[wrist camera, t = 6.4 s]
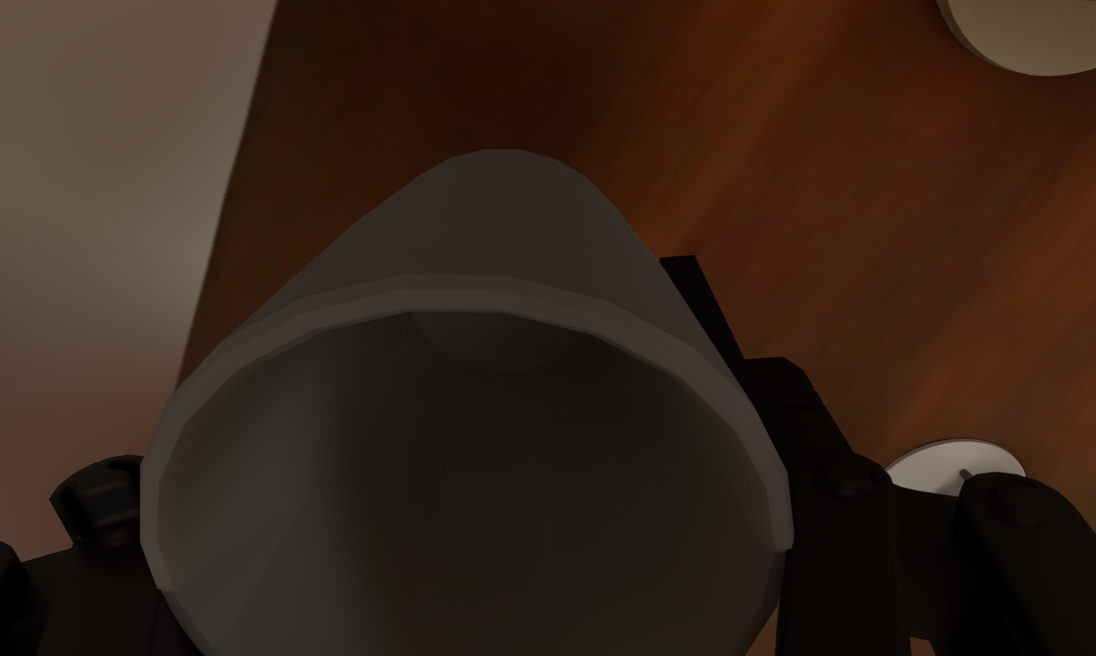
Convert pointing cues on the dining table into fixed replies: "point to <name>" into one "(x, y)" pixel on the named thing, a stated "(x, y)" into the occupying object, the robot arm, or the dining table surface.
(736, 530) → the cup
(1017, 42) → the tray
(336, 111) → the dining table surface
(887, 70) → the dining table surface
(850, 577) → the robot arm
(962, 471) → the panda figurine
